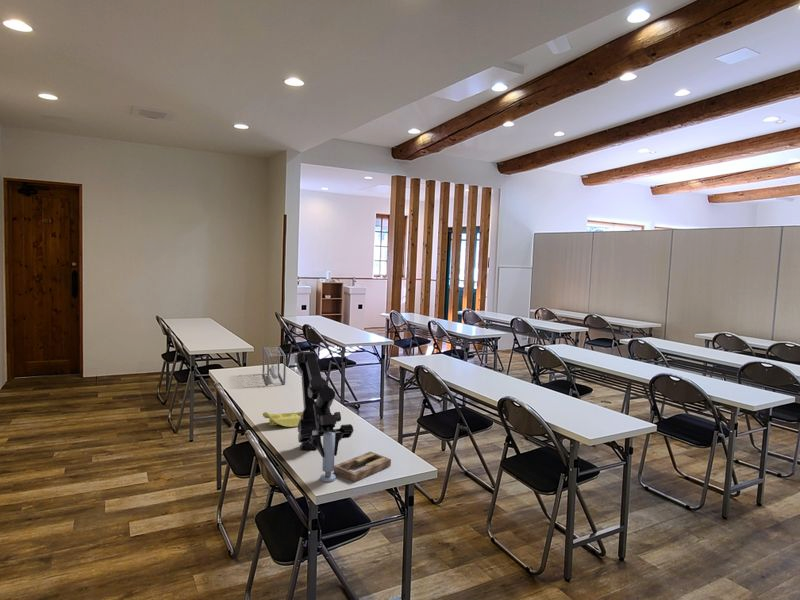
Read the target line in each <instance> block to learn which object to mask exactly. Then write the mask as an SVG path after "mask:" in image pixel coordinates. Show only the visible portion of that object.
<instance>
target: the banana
mask: <svg viewBox="0 0 800 600" xmlns="http://www.w3.org/2000/svg"><path fill="white" fill-rule="evenodd" d="M302 412H303V411H299V412H290V413H289V412H288V413H285V412H284V413H271V414H270V413H269V412H268V411H265V412H263V413H262V416H263V418H264V419H269V427H270V426H272V425H273V426H277V425H279V426H282V427H287V428H293V427H298V423H299V421H300V416H301V414H302ZM273 426H272V427H273Z"/></svg>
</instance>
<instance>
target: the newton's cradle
mask: <svg viewBox="0 0 800 600" xmlns="http://www.w3.org/2000/svg"><path fill="white" fill-rule="evenodd" d="M272 352H277V353H274V354H272ZM265 356H266V357H265ZM286 356H287V355H286V353H285V352H284V350H282V348H281V347H280V346H276V347H273V349H272V348H269V347H264V346H263V348H262V376H263V378H264V381H265V384H266V386H269V385H270V376H271V378H272V379H273V380H277V379H278V378H281V379H280V381H281V380H282V381H281V382H279V383H274V385H286V368H287V366H286V365H287V360H286V359H287V357H286ZM273 357H277V358H274V360H273ZM280 357H283V376H282V375H281V373H280V367H281V366H280V364H281V362H280V361H281V360H280V359H281V358H280ZM265 358H266V359H267V362H266V361H265ZM274 361H277V362H274ZM265 362H266V363H267V366H266V367H267V368H266V369H267V370H266V373H265V365H266V364H265ZM270 364H271V367H270ZM275 365H276V366H277V367H275ZM279 376H280V377H279Z"/></svg>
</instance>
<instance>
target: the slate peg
mask: <svg viewBox="0 0 800 600" xmlns="http://www.w3.org/2000/svg"><path fill="white" fill-rule="evenodd" d="M322 437H323V438H322V447H323V451H324V457H322V466H321V467H322V468H321V469H322V471H323V472H325V473H323V474H321V475H320V479H319V480H320V481H321V482H324V483H332V482H335V480H336V474H335V473H332V472H334V466H335V433H334V432H325V433H323V436H322Z"/></svg>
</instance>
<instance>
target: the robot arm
mask: <svg viewBox="0 0 800 600" xmlns="http://www.w3.org/2000/svg"><path fill="white" fill-rule="evenodd" d="M294 362H295V364H296V369H297V370H298V372H299V373H300V375H301V387H302V388H301V390H302V401H303V402H302V403H303V410H302V411H301V412H302V414H301V416H300V421H299V423H298V426H297V432H298V435H297V439H298V440H297V441H298V443H300V447H299V450H300V451H303V450H304V451H307V450H309V451H311V450H312V451H314V450H315V451H317V452H318V453H319V454H320V456H321V457H322V458H323V457H324V451H323V442H322V437H323V433H325V432H334V433H335V455H334V457H337V455H338V449H339V442H341V441H342V439H349V438H351V436H352V435H353V433H354V431H355V430H354V427H353V425H352V424H351V423H349V424H341V425H340V427H339V428H335V427H336V424H337V422H341V420H342V414H341V411H336V412H334V413H333V414H332V412H331V406H332V404H333V402H334V400H335V397H336V391H334V389H333V388H331V387H330V386H329V384H328V381H327V380H326V379H324V378H323V377H322V373H321V370H320V366H319V363H318V353H316V352H314V351H313V350H311V351H298V352H297V354H295V355H294Z"/></svg>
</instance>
